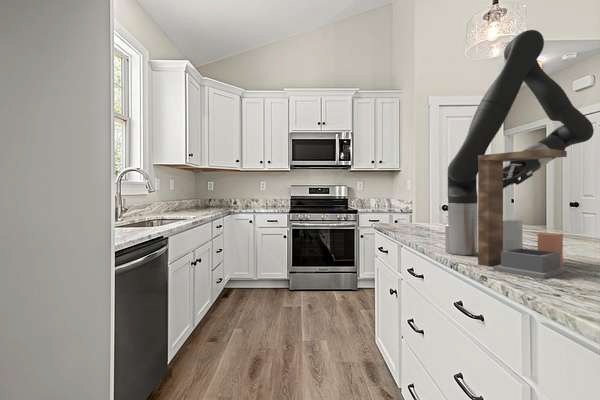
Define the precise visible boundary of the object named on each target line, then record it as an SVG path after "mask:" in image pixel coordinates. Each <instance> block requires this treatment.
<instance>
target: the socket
mask: <svg viewBox="0 0 600 400" xmlns="http://www.w3.org/2000/svg"><path fill="white" fill-rule="evenodd" d="M492 267H493V268H492V270H493V271H497V272H502V273H508V274H513V275H517V276H518V275H519V276H523V277H531V278H536V279H543V280H544V279H547V278H551V277H554V276H558V275H560V274H564V273H567V272H568V267H565V266H561V267H560V253H558V252H550V251H541V250H538V249H532V248H531V249H530V248H516V249H511V250H506V251H501V263H500V264H496V265H492Z"/></svg>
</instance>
